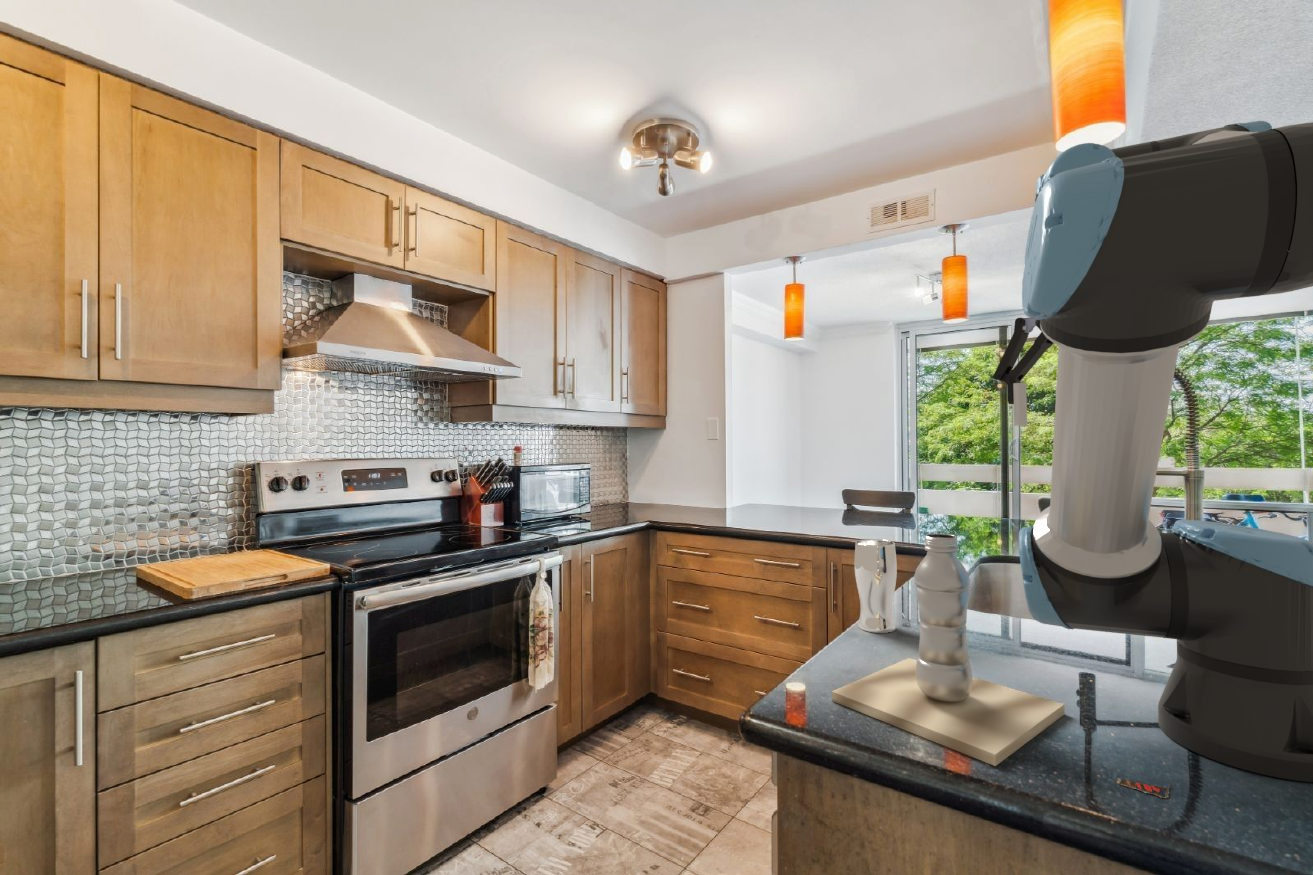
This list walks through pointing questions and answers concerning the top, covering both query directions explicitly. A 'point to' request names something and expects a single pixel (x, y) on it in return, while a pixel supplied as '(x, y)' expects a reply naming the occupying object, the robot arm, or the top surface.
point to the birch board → (953, 712)
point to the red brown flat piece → (1146, 788)
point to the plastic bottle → (943, 621)
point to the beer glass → (876, 583)
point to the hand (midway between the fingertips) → (1071, 424)
